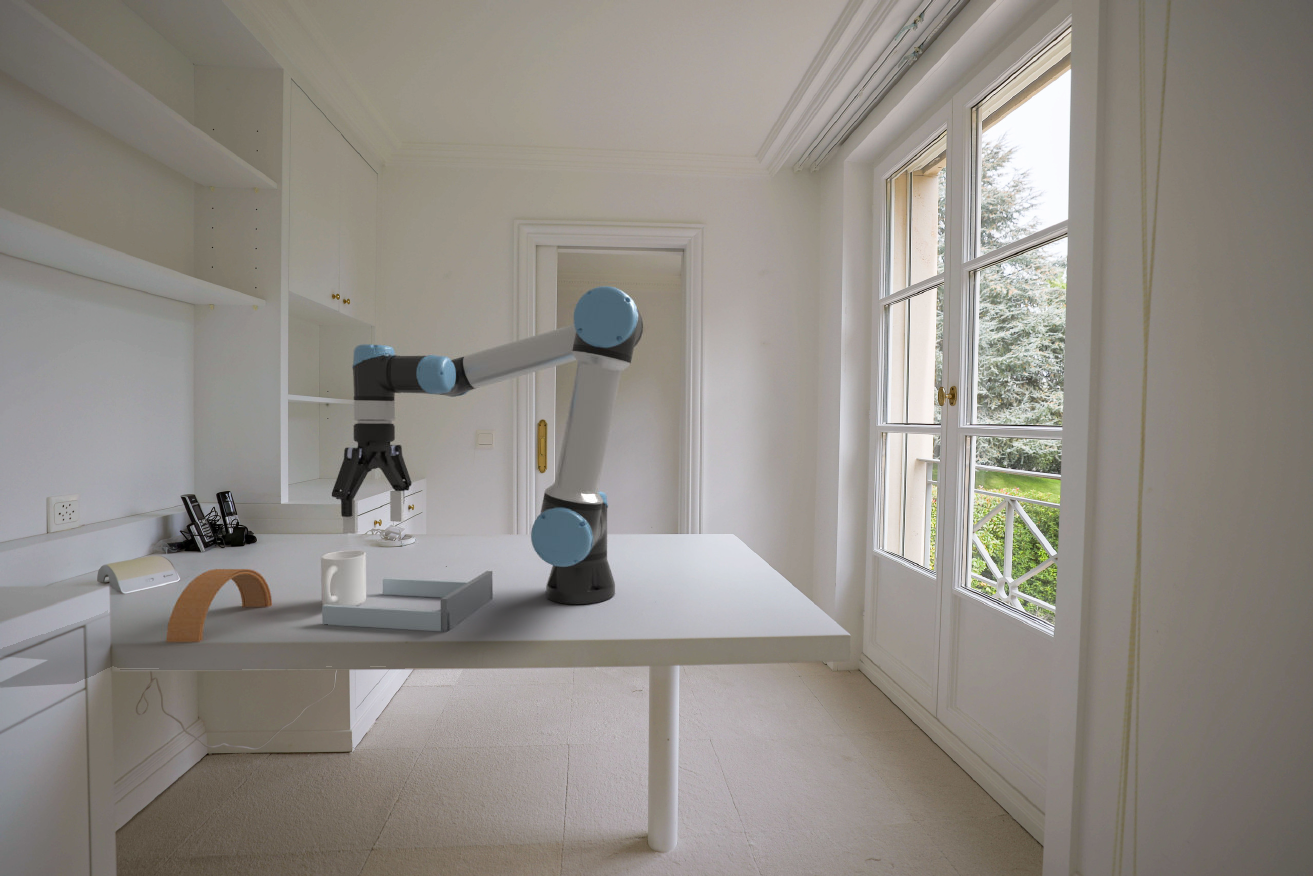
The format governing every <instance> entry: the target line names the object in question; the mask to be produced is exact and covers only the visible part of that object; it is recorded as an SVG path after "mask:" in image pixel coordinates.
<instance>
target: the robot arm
mask: <svg viewBox="0 0 1313 876" xmlns="http://www.w3.org/2000/svg"><path fill="white" fill-rule="evenodd" d="M643 332H644V323H643V317H642V315H641V313H640V311H639V310H638V308H637V305H636V304H635V301H634V300H633V298H632V297H631V296H630V295H629V294H627V292H624V291H623V290H621V289H620V288H617V287H614V286H611V285H610V286H607V285H602V286H597V287H594V288H591V289H589V290H588V291H586V292H585V293H584V294H582V296H581V297H580V298H579V299H578V301H577V303H576V304H575V308H574V309H573V324H571V325H567V326H563V327H560V328H557V329H553V330H550V331H547V332H543V333H538V334H535V335H533V336H528V337H525V338H523V339H518V340H515V341H512V342H508V343H504V344H501V345H498V346H495V347H491V348H487V349H485V350H481V351H478V352H474V353H471V354H466V355H464V356H459V357H457V358H453V359H451V358H450V357H449V356H445V355H435V354H429V355H398V354H397V355H396V354H395V349H394V348H393V346H390V345H385V344H371V343H370V344H367V343H365V344H364V343H363V344H358V345H357V346H355V348H354V350H353V359H352V360H353V361H352V365H351V367H352V372H353V373H352V375H353V377H352V378H353V420H354V421H356V423H354V424H353V441H354V442H356V443H357V447H345V448H344V453H343V460H342V462H341V466H340V468H339V471H338V474H337V476H336V477H337V478H336V480H335V483H334V486H333V488H332V492H331V498H335V499H336V500H340V510H341V511H340V514H341V517H342V533H343V534H352V535H355V534H358V533H359V530H358V529H359V522H358V521H359V515H358V512H359V510H358V509H359V507H358V504H359V503H358V502H359V500H358V499H356V498H355V497H356V495H357V494H358V492H359V489H360V488H361V486H362V484H363V482H364V481H365V479H366V477H367V475H368V473H370V472H371V471H372V470H376V469H380V470H381V472H382V473H383V475H384V476H385V478H386V480H387V481H388V483H389V484H390V486H391V488H392V489H393V490H390V491H389V497H390V499H389V503H390V504H389V506H390V508H389V509H390V510H389V511H390V513H389V514H390V518H389V520H390V522H398V523H400V522H401V523H402V522H404V521H405V520H404V519H405V518H404V517H405V513H404V511H405V509H404V506H405V491H409V490H410V487H411V486H412V479H411V476H410V474H409V471H408V468H407V465H406V462H405V459H404V456H403V449H402V447H403V446H402V445H401V444H391V442H394V441H395V439H396V437H395V436H396V434H395V432H396V429H395V428H396V425H395V424H394V423H393V422H392V421H395V420H396V407H395V405H396V404H395V400H396V399H395V395H396V394H404V393H405V394H425V395H439V396H445V397H452V398H453V397H461V396H464V395H466V394H468V393H469V392H470V391H473V390H476V389H479V388H481V387H482V388H483V387H485V386H489V385H493V384H497V383H500V382H501V383H502V382H504V381H507V380H510V379H511V380H512V379H514V378H518V377H521V376H526V375H529V374H532V373H536V372H539V371H543V370H547V369H551V368H554V367H557V366H561V365H565V364H568V363H571V362H576V363H577V366H576V372H575V376H574V380H573V386H572V387H573V388H572V391H571V397H570V402H569V407H568V412H567V418H566V422H565V428H564V431H563V432H564V433H563V437H562V442H561V447H560V453H559V458H558V462H557V469H556V473H555V477H554V478H555V479H554V482H553V483H552V484H551V485H550V486H549V487H547V488H545V490H544V495H543V498H542V499H543V500H542V502H541V503H542V504H541V508H540V513H539V514H538V516H536V518H535V520H534V522H533V525H532V527H531V532H530V539H531V540H530V541H531V544H532V547H533V550H534V552H535V553H536V554H537V556H538V557H539V558H540V559H541V560H543V561H544V562H545V563H547V564H549V565H550V566H551V565H552V567H551V570H550V573H549V577H548V579H547V583H546V585H545V586H546V589H545V591H546V598H547V599H549V600H550V601H553V602H555V603H560V604H569V605H586V604H596V603H600V602H604V601H607V600H609V599H611V598H613V597H615V594H616V584H615V582H616V581H615V579H614V576H613V573H612V570H611V567H610V564H609V561H608V508H609V503H608V496H607V494H606V493H605V492H604V491H598V490H599V484H600V480H601V475H602V470H603V466H604V459H605V454H606V451H607V444H608V440H609V435H610V430H611V425H612V419H613V415H614V409H615V406H616V404H615V403H616V400H617V394H618V390H619V386H620V385H619V384H620V380H621V373H622V372H623V371H625V370H626V369H627V368H629V367H630V366H631V363H632V359H633V354H634V349H635V347H636V346H638V344H639V342H640V341H641V339H642V335H643Z"/></svg>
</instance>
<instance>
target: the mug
mask: <svg viewBox="0 0 1313 876" xmlns="http://www.w3.org/2000/svg"><path fill="white" fill-rule="evenodd" d="M320 560H321V561H320V564H321V565H320V569H321V570H320V573H321V574H320V576H321V577H320V578H321V579H320V580H321V604H322V606H323V605H326V604H328V605H347V606H360V605H362V604H363V603H364V602H365V601H366V598H367V553H366V552H365V551H364V550H355V549H354V550H341V551H340V550H339V551H334V552H329V553H326V554H322V555H321V556H320Z"/></svg>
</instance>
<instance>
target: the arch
mask: <svg viewBox="0 0 1313 876" xmlns="http://www.w3.org/2000/svg"><path fill="white" fill-rule="evenodd" d="M230 580H232V581H233V582H234V584H235V585H236V587H237V588H238V589H237V590H238V592H239V594H240V598H241V605H242V606H241V607H243V608H270V607H272V606H273V600H272V599H273V598H272V594H271V589H270V587H269V585H268V582H267V581H266V579H265V578H264V576H263V575H262V574H261V573H259V572H257V571H256V570H254V569H249V568H215V569H210V570H206V571H205V572H202V573H200V574H199V575H197V576H195V578H193V579H192V580H191V581H190V583H188V584H187V586H186V587H185V588H184V589H183V590H182V592H181V593H180V595H179V597H178V598H177V599H176V602H175V604H174V606H173V609H172V612H171V614H170V617H169V620H168V625H167V629H166V643H193V642H194V643H199V642H201V641H203V636H204V635H203V633H204V626H205V622H206V617H207V614H208V611H209V608H210V606H211V604H212V602H213V600H214V599H215V597H216V595H217V594H218V593H219V591H220V590H221V588H222V587H224V586H225V584H226V583H228V582H229V581H230Z"/></svg>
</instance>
